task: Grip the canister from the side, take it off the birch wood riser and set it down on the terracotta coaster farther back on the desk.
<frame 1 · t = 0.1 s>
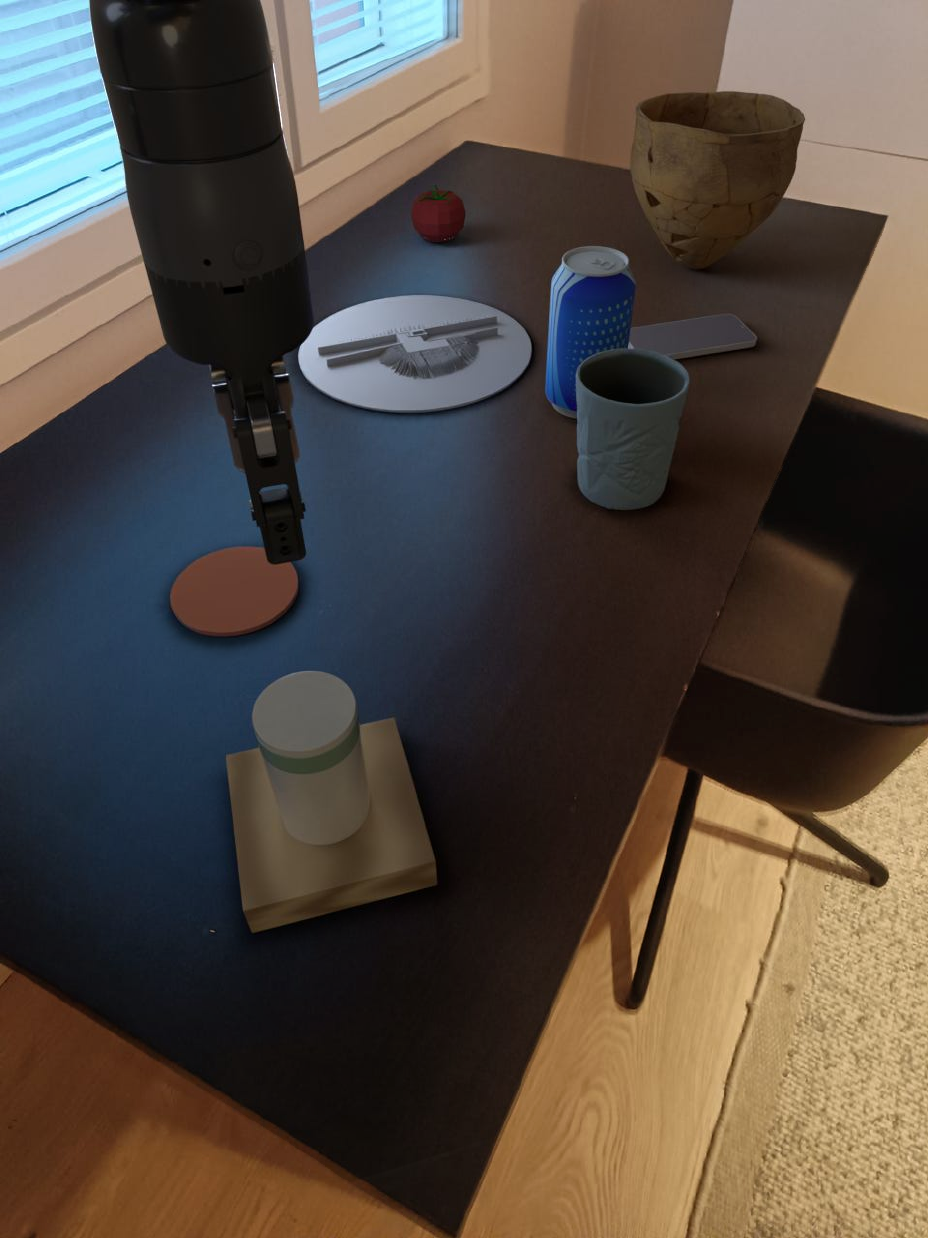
hand: (277, 513, 54), 20 cm above the table, tool pointing down, fingers open, 8 cm apart
coaster: (235, 591, 78), on the table
beer can: (582, 404, 99), on the table
smartphone: (687, 342, 108), on the table
canister: (325, 805, 59), point 3 cm above the table, touching riser
plate: (415, 351, 108), on the table
bowl: (693, 269, 123), on the table
embossed ceramic tumbler: (617, 485, 89), on the table
riser: (330, 830, 61), on the table
tomato: (439, 240, 131), on the table
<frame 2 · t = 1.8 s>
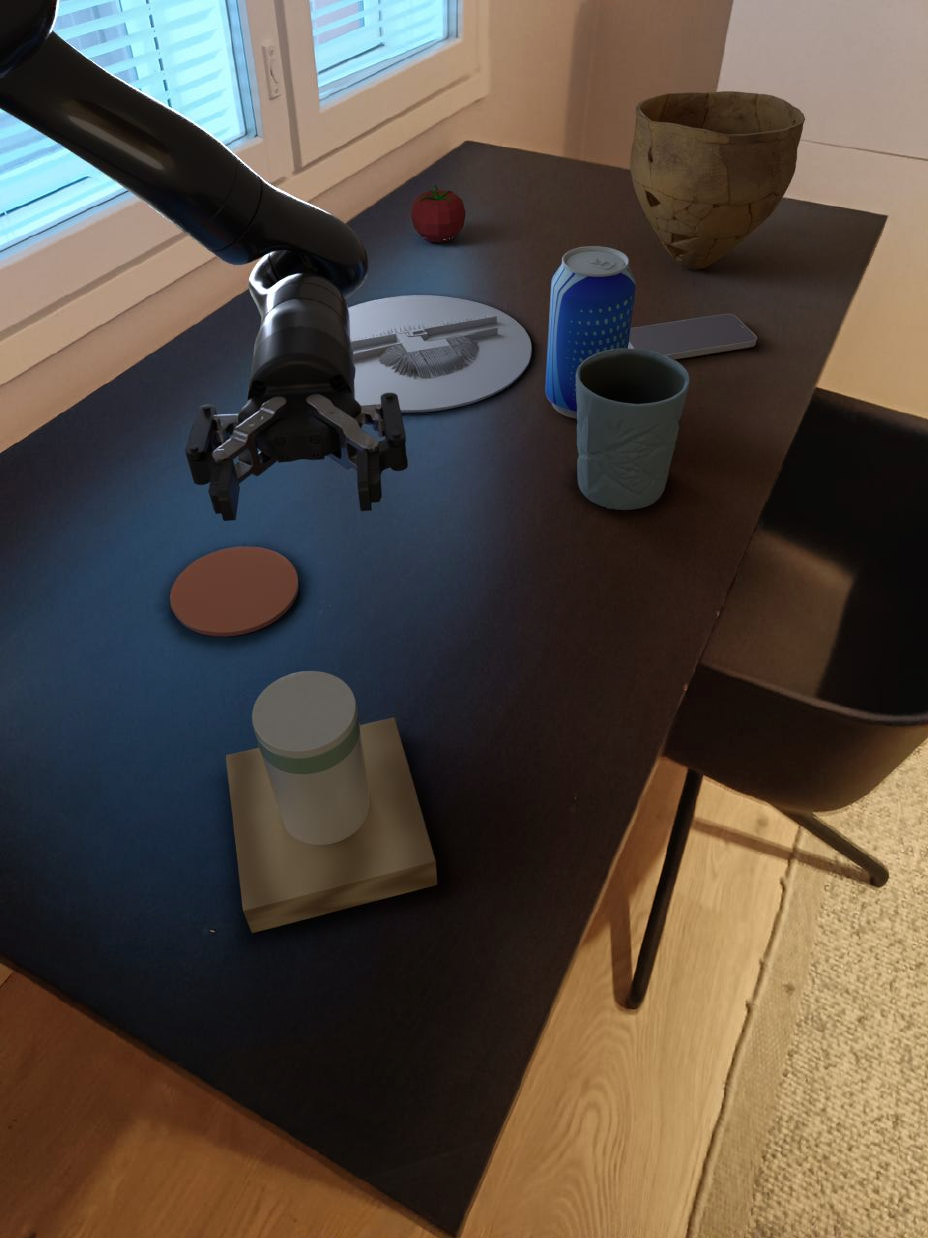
hand: (296, 504, 55), 19 cm above the table, tool horizontal, fingers open, 8 cm apart
nothing on the table moved.
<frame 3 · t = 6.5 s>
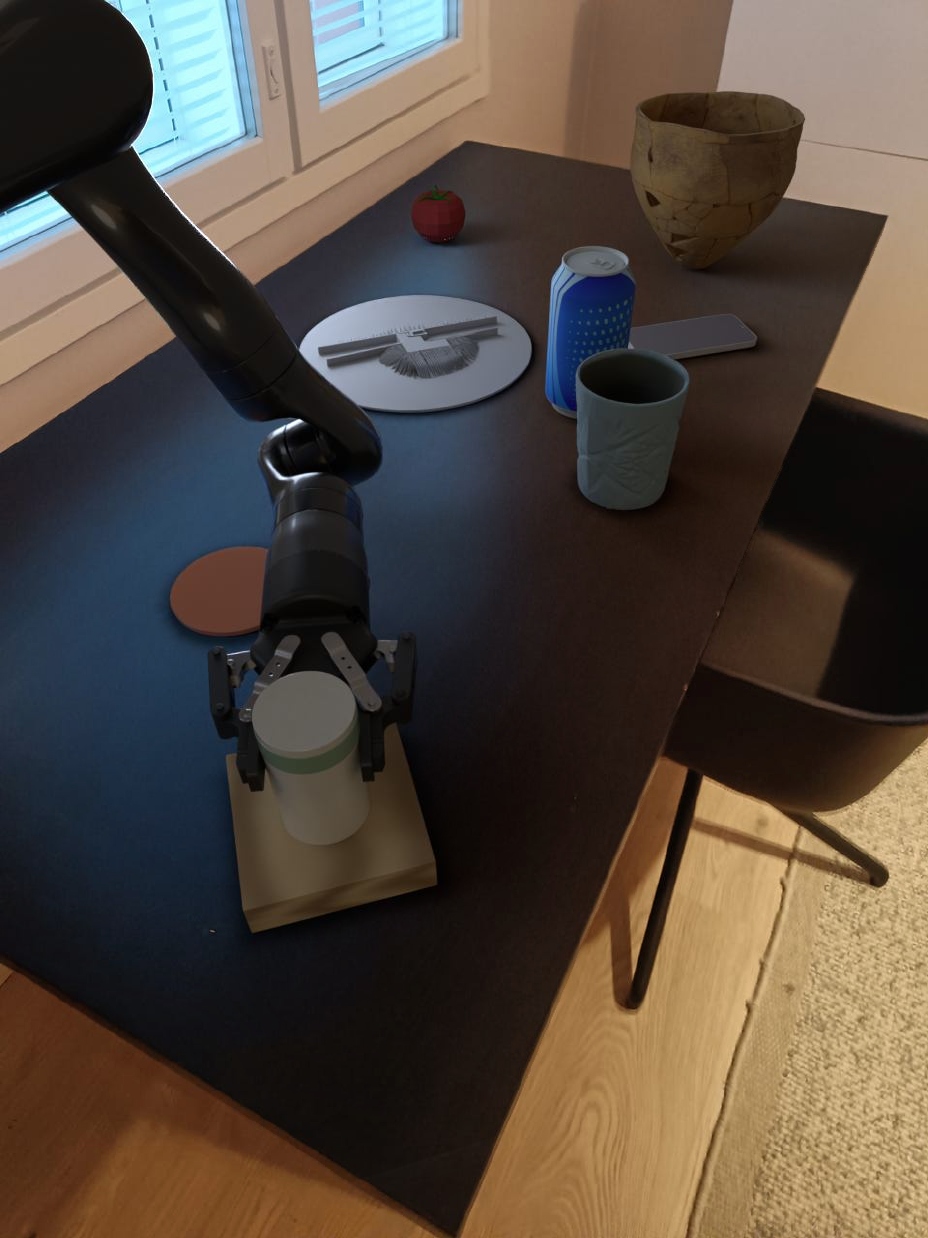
hand: (311, 778, 53), 10 cm above the table, tool horizontal, fingers closed on canister, 6 cm apart
canister: (325, 805, 59), point 3 cm above the table, touching gripper, riser
everything else where it was.
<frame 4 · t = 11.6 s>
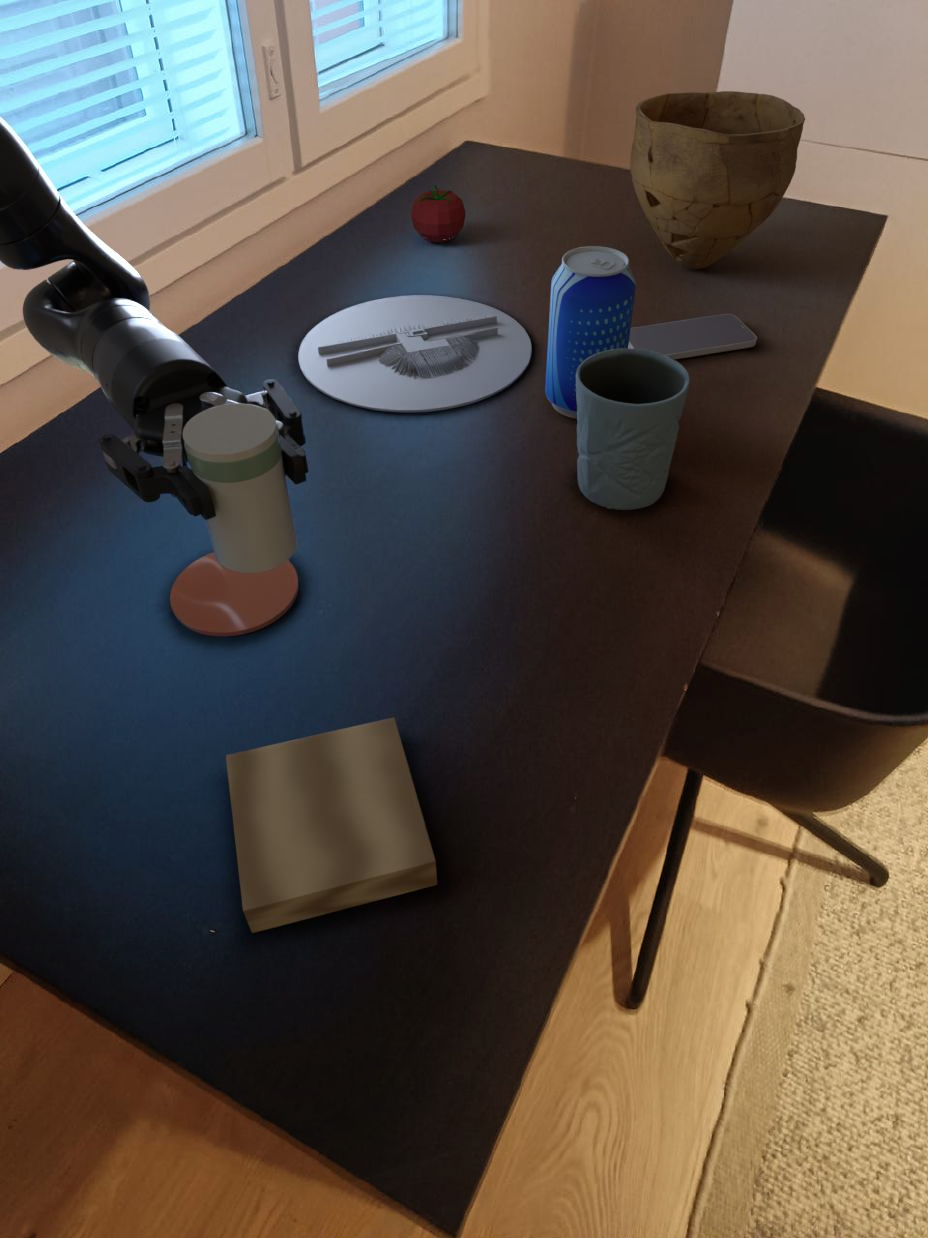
hand: (255, 488, 59), 18 cm above the table, tool horizontal, fingers closed on canister, 6 cm apart
canister: (256, 545, 65), point 11 cm above the table, touching gripper
everything else where it was.
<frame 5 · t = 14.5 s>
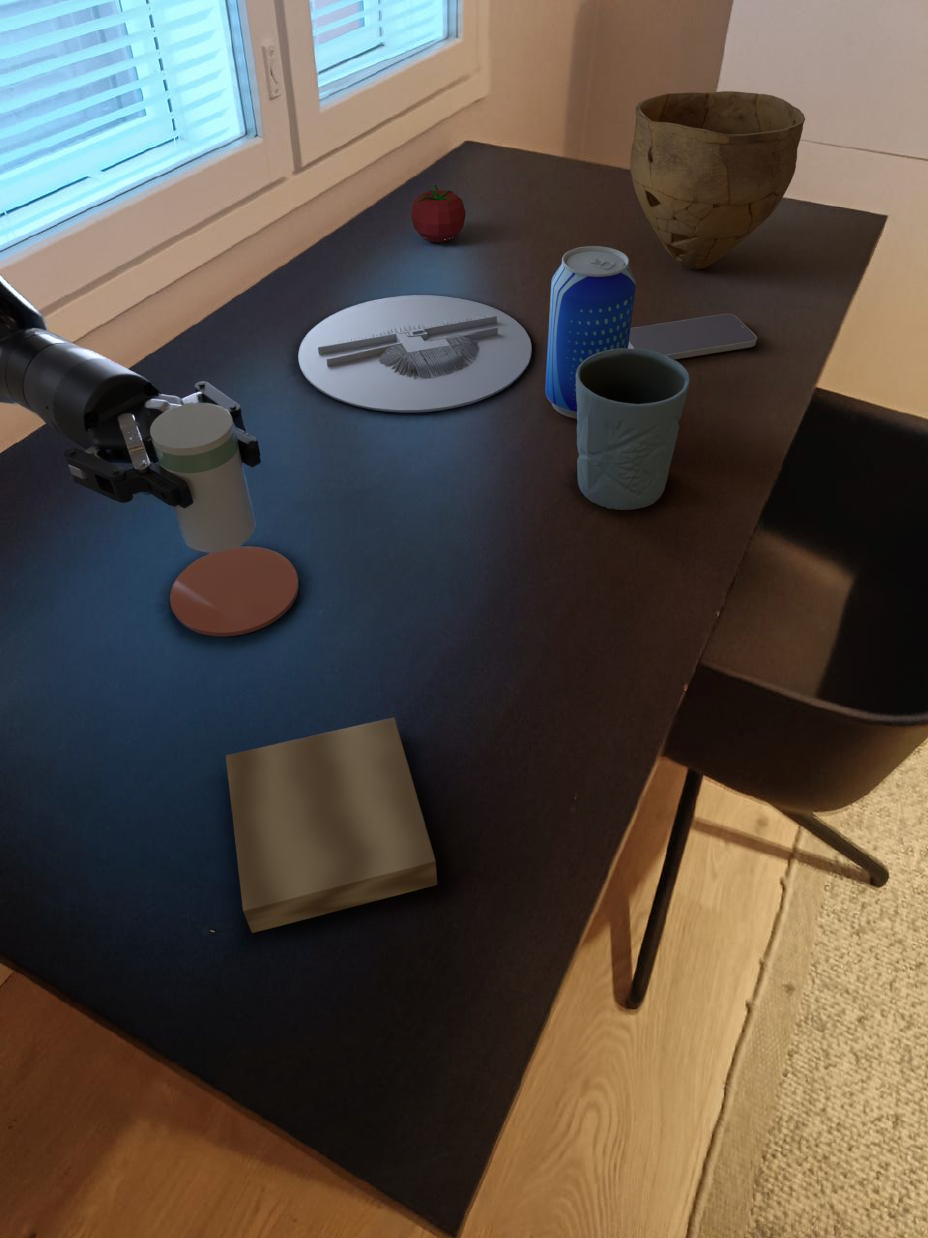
hand: (222, 475, 68), 13 cm above the table, tool horizontal, fingers closed on canister, 6 cm apart
canister: (219, 528, 73), point 7 cm above the table, touching gripper
everything else where it was.
when the fingers open (7 cm above the table, at t = 16.8 s): canister stays where it is, resting on coaster.
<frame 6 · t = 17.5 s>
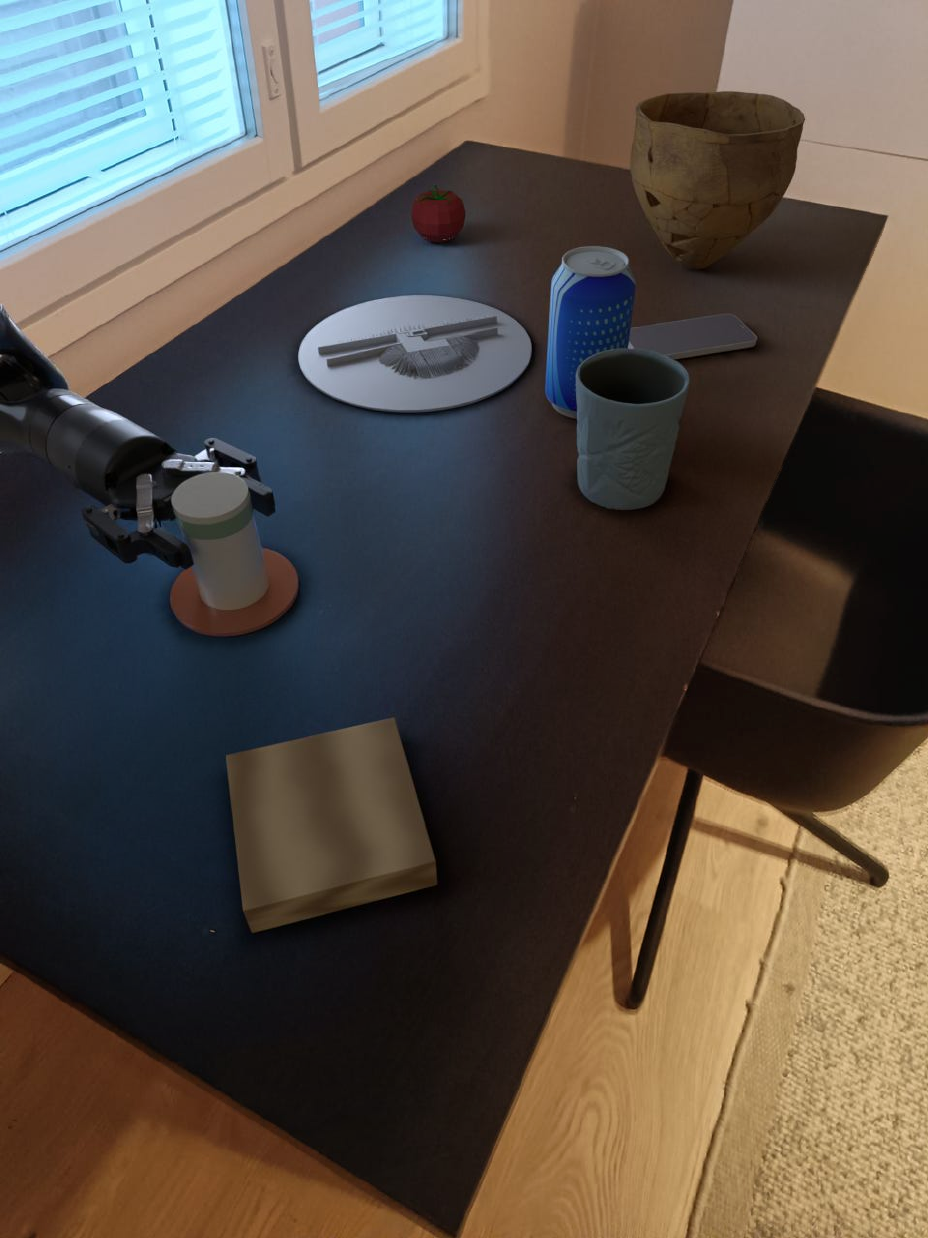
hand: (231, 531, 72), 8 cm above the table, tool horizontal, fingers open, 8 cm apart
canister: (234, 586, 78), resting on coaster
everything else where it was.
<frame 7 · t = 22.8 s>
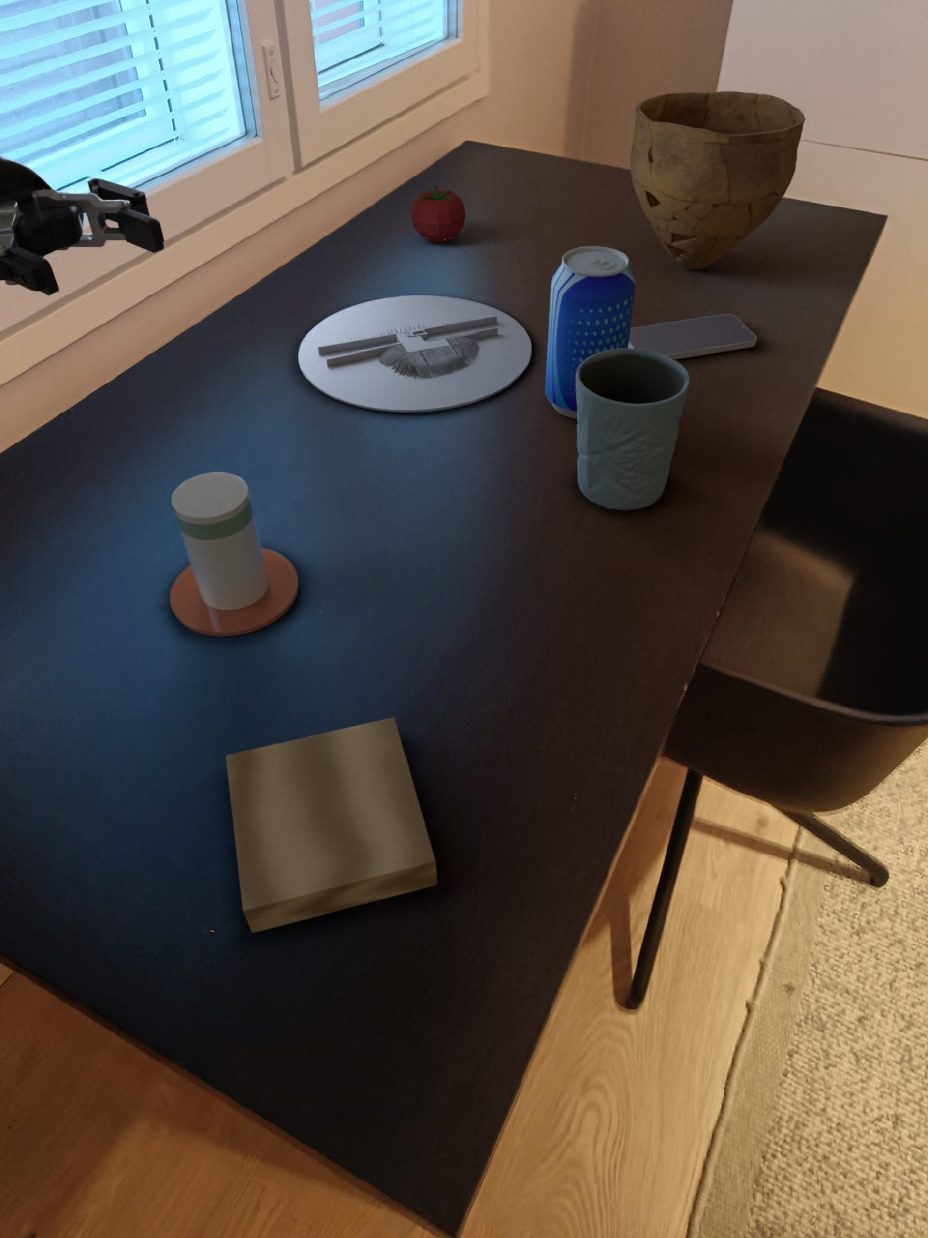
hand: (106, 257, 61), 28 cm above the table, tool horizontal, fingers open, 8 cm apart
nothing on the table moved.
at the end: canister 0.1 cm off-centre on the coaster, point 0.5 cm above the coaster's base; canister tilted 0°; the gripper is holding nothing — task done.
